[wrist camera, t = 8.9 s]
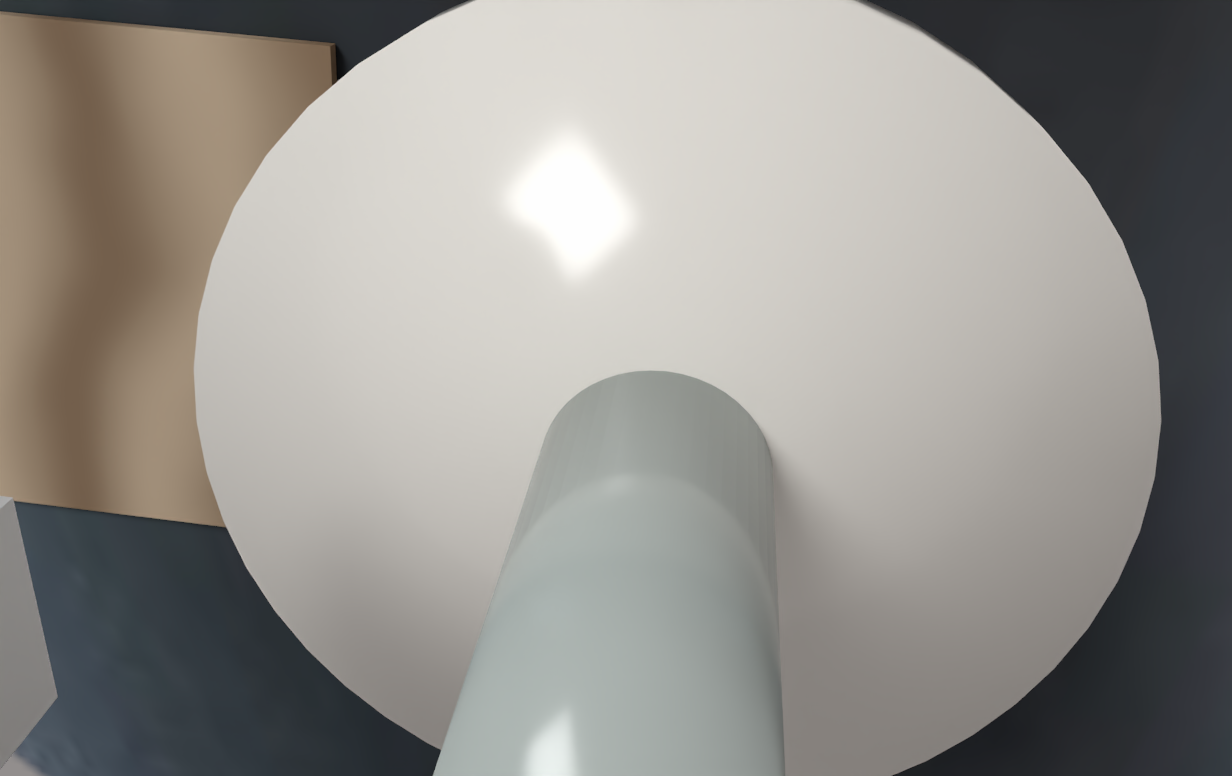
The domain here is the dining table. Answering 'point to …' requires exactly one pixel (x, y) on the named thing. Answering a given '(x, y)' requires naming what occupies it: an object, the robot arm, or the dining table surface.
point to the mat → (123, 244)
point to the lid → (677, 389)
